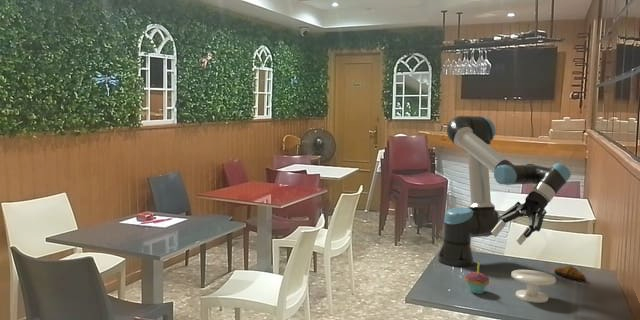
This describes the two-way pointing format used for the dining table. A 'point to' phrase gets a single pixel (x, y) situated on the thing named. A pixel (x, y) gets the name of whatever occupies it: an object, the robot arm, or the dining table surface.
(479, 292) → the cupcake
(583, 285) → the dining table surface
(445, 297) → the dining table surface
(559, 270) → the croissant
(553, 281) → the cake stand
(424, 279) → the dining table surface
